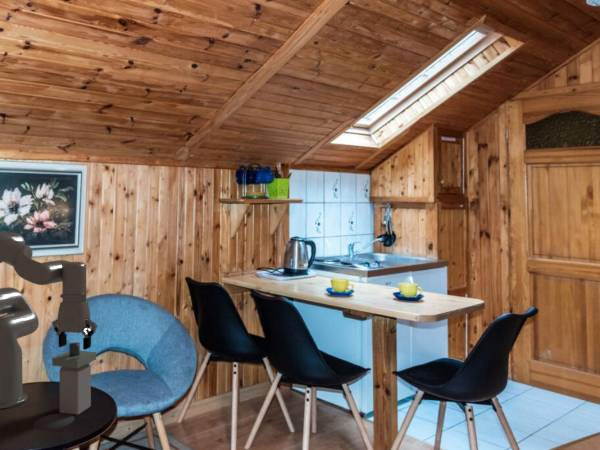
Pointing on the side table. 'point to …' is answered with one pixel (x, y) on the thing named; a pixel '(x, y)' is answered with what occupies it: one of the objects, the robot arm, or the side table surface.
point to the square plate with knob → (74, 357)
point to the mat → (54, 421)
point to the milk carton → (75, 389)
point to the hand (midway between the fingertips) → (74, 347)
